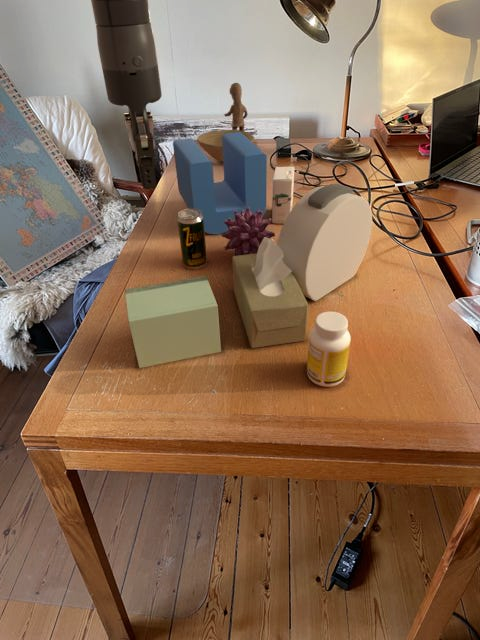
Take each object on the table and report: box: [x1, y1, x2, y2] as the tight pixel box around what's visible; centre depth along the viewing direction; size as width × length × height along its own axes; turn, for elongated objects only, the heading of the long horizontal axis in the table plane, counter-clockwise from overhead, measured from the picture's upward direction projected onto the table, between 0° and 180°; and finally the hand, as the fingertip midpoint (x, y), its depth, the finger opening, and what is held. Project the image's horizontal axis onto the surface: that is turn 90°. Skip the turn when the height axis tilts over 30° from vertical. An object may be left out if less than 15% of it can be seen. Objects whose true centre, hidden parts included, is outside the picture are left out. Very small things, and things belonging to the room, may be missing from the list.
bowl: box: [196, 129, 255, 162], centre depth 149 cm, size 18×18×8 cm
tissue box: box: [231, 237, 309, 349], centre depth 82 cm, size 19×10×16 cm, turn 10°
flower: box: [220, 206, 276, 256], centre depth 100 cm, size 12×12×12 cm
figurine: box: [223, 82, 248, 131], centre depth 159 cm, size 9×8×20 cm
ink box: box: [271, 166, 295, 225], centre depth 115 cm, size 9×5×12 cm, turn 172°
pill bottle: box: [306, 311, 352, 388], centre depth 70 cm, size 6×6×11 cm
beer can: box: [177, 208, 208, 270], centre depth 98 cm, size 5×5×12 cm
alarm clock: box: [276, 183, 373, 302], centre depth 88 cm, size 21×8×20 cm, turn 135°
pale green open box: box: [124, 275, 222, 369], centre depth 78 cm, size 14×9×10 cm, turn 105°
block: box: [172, 132, 268, 235], centre depth 114 cm, size 18×18×18 cm
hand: (149, 185), depth 73 cm, fingers closed
